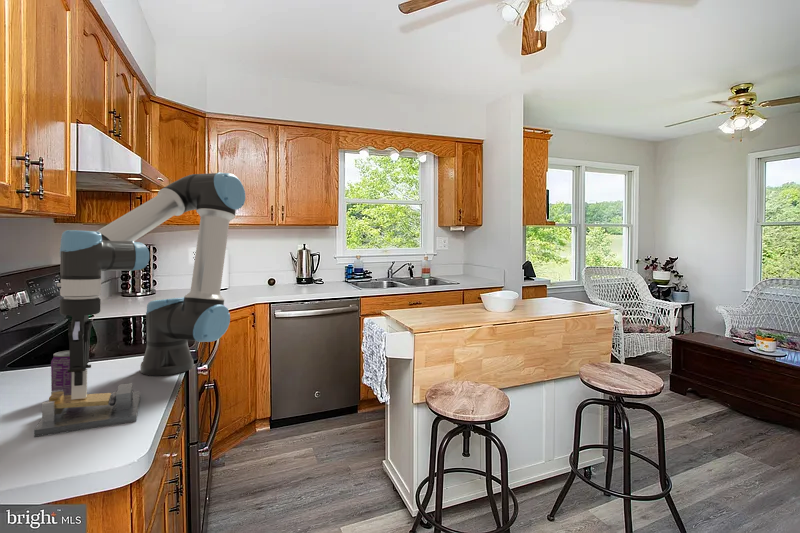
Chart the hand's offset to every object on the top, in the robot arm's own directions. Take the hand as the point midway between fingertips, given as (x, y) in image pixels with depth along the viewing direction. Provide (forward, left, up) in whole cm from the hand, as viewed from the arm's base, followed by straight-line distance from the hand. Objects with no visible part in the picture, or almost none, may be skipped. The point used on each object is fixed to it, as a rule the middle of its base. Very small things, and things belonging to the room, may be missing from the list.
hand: (79, 397), depth 98 cm
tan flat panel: (-1, +1, -1) cm, 2 cm away
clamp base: (-2, +2, -5) cm, 5 cm away
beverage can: (-8, -14, -5) cm, 17 cm away
